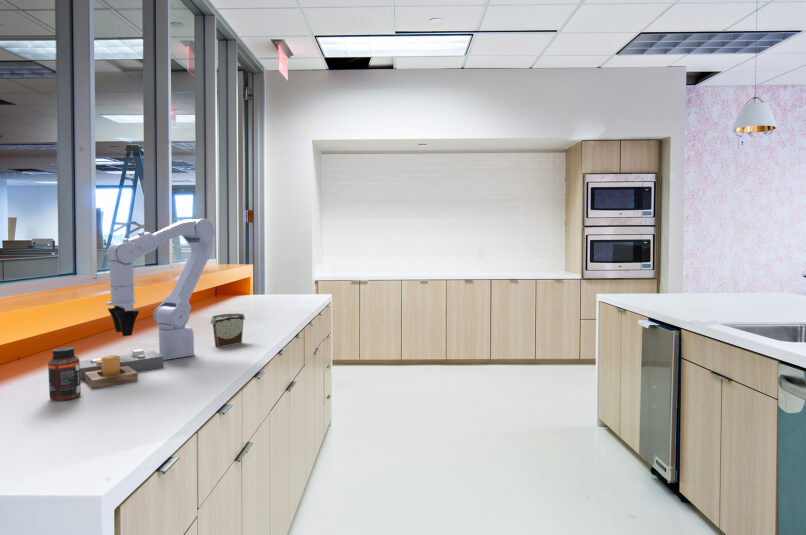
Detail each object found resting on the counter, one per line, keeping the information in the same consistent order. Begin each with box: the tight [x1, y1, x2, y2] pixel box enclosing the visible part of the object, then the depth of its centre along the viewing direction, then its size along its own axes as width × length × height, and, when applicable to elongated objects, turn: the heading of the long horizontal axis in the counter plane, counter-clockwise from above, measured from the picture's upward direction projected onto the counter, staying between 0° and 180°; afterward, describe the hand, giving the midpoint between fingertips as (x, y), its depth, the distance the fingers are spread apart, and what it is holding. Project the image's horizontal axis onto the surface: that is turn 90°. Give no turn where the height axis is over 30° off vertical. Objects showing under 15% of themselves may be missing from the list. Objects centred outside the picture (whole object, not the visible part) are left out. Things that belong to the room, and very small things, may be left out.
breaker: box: [131, 348, 145, 358], centre depth 142 cm, size 2×2×2 cm
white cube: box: [91, 357, 102, 363], centre depth 136 cm, size 2×2×2 cm
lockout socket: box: [84, 366, 139, 389], centre depth 128 cm, size 10×10×2 cm
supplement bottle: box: [47, 346, 82, 402], centre depth 114 cm, size 6×6×11 cm
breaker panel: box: [79, 350, 164, 381], centre depth 138 cm, size 20×9×4 cm, turn 131°
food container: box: [210, 313, 246, 349], centre depth 172 cm, size 12×6×10 cm, turn 145°
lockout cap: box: [100, 354, 121, 377], centre depth 128 cm, size 4×4×6 cm
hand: (123, 333), depth 141 cm, fingers open, 7 cm apart
